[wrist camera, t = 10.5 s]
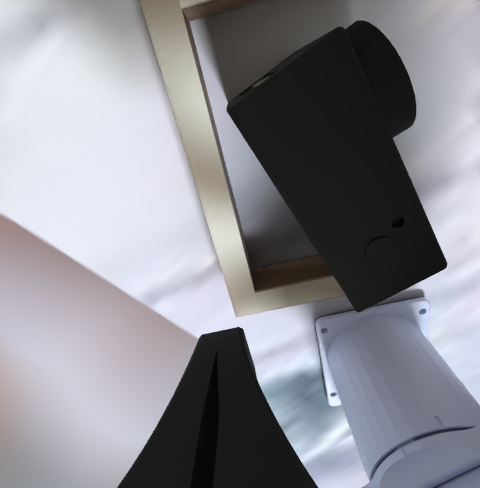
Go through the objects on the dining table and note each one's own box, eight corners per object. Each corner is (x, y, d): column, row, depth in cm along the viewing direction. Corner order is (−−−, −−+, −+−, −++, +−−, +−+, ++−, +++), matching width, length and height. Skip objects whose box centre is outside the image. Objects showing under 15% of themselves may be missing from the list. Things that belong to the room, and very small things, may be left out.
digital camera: (398, 201, 19) (480, 256, 13) (319, 246, 20) (359, 317, 14) (319, 33, 15) (382, -7, 9) (227, 102, 16) (226, 110, 10)
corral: (396, 257, 21) (418, 280, 18) (235, 291, 22) (236, 317, 19) (392, -82, 13) (428, -119, 11) (147, -9, 14) (130, -30, 12)
